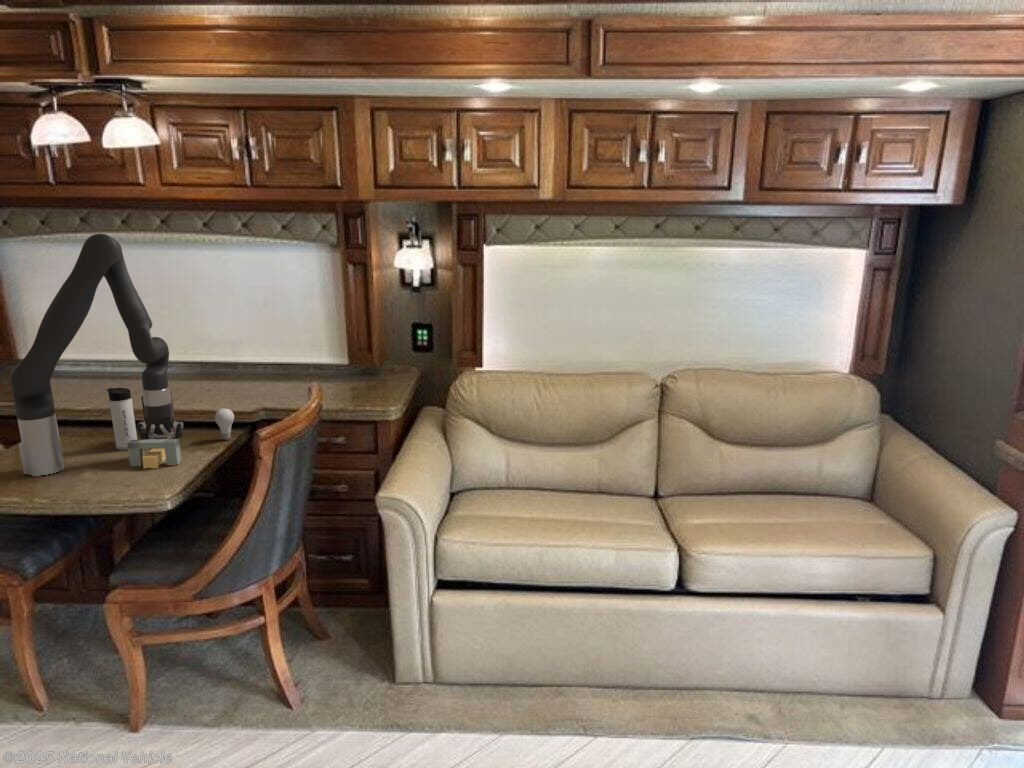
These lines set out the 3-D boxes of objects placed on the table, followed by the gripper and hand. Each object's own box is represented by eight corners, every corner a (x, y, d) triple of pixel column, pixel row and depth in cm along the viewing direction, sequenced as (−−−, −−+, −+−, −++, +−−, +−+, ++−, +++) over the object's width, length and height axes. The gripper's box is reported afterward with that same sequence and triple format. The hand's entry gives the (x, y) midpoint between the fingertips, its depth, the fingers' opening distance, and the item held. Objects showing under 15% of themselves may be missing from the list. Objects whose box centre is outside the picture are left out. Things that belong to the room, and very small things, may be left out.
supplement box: (177, 435, 234) (172, 391, 230) (174, 440, 230) (169, 395, 226) (150, 437, 232) (144, 393, 228) (146, 442, 227) (140, 396, 223)
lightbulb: (233, 442, 228) (230, 411, 225) (214, 442, 227) (211, 411, 224) (238, 436, 234) (235, 406, 231) (220, 437, 233) (217, 406, 230)
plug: (142, 469, 204) (140, 454, 203) (159, 453, 218) (158, 439, 216) (158, 468, 205) (156, 454, 203) (174, 452, 218) (173, 438, 217)
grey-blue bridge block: (130, 466, 206) (126, 443, 204) (134, 462, 209) (131, 439, 207) (177, 465, 207) (174, 442, 205) (181, 461, 210) (178, 438, 208)
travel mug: (122, 444, 225) (113, 386, 220) (142, 444, 226) (133, 386, 221) (111, 450, 219) (102, 391, 214) (132, 450, 219) (123, 391, 214)
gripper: (186, 398, 215) (191, 449, 219) (139, 398, 214) (145, 449, 218) (176, 405, 207) (182, 457, 212) (127, 405, 206) (134, 458, 211)
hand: (163, 453), depth 215 cm, fingers closed on plug, 4 cm apart
